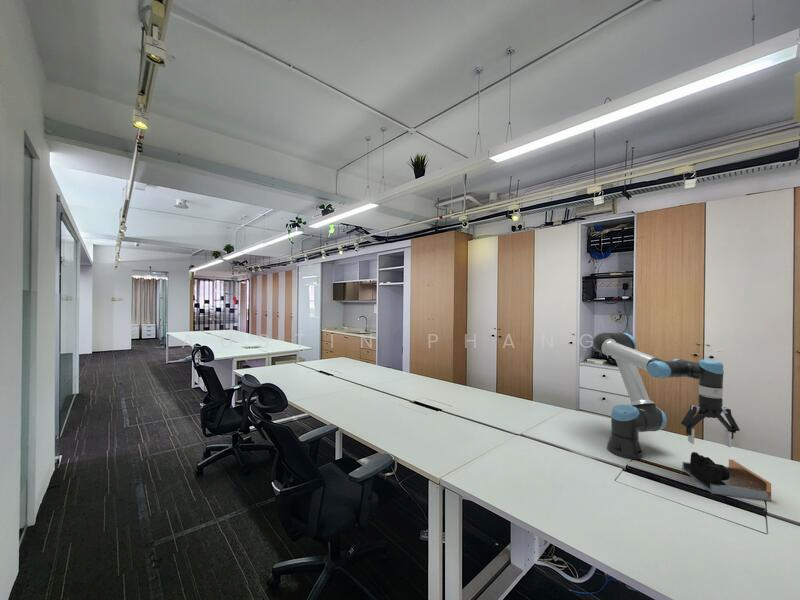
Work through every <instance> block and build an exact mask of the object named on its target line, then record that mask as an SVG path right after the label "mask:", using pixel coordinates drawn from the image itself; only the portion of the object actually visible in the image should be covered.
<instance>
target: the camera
mask: <svg viewBox="0 0 800 600" xmlns="http://www.w3.org/2000/svg"><path fill="white" fill-rule="evenodd" d="M689 463H690V473H692V474H693V475H694V476H696V477H697V478H699V479H700V480H702V481H703V482H704V483H706V484H707V485H708V486H710V483H711V484H719V485H721V480H722V481H724V480H728V479H729V477H730V475H729V471H728V470H727V468H726V467H727V466H725V465H723V464H719V463H715V461H713V460H712V459H711V458H710V457H708V456H707V457H705V456H704V455H703V454H700V453H698V452H695V451H693V452H691V454H690V462H689Z"/></svg>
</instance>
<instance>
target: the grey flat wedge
mask: <svg viewBox="0 0 800 600" xmlns="http://www.w3.org/2000/svg"><path fill="white" fill-rule="evenodd" d="M681 467H682V468H681V469H682V471H684V472H685V473H686V474H687V475H689V476H690V477H691V478H692V479H694V480H695V481H696V482H697V483H699V484H700V485H701V486H702V487H704V488H705V489H706V490H707V491H708V492H710V493H711V494H712V495H720V496H729V497H736V498H745V499H750V498H754V499H753V500H758V499H761V500H760V501H767V502H768V501H769V502H772V483H771V482H770V481H768V480H766V479H765V478H763V477H762V476H760V475H758V474H756V473H755V472H753V471H752V470H750V469H749V468H747V467H745V466H743V465H742V464H740V463H739V462H737V461H736V460H734V459H730V458H729V459H728V466H725V467H726V468H727V470H728V471H729V475H730V477H729V479H728V480H724V481H722V480H721V485H719V484H711V483H710V486H708V485H707V484H706V483H704V482H703V481H702V480H700V479H699V478H697V477H696V476H694V475H693V474H692V473H690V462H686V461H682V465H681Z"/></svg>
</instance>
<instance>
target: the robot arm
mask: <svg viewBox="0 0 800 600" xmlns="http://www.w3.org/2000/svg"><path fill="white" fill-rule="evenodd" d="M592 345H593V348H594V349H595V350H596V351H597V352H598V353H600V354H602V355H605V356H610V357H611V358H612V359H614V360H615V363H616V365H617V368H618V370H619V373H620V375H621V378H622V382H623V383H624V387H625V389H626V391H627V395H628V397H629V400H630V404H617V405H614V406H613V407H612V408H611V415H610V416H611V420H610V421H611V422H610V423H611V427H610V428H611V429H610V432H611V434H610V436H609V439H608V442H607V443H606V444H607V445H606V449H607V451H608V452H609V453H611V454H614V455H616V456H619V457H620V458H621V457H622V458H625V459H631V460H639V459H640V460H641V459H642V458H643V456H644V453H643V449H642V446H641V444H640V441H639V436H640V435H639V433H646V432H647V433H648V432H659V431H662V430H663V429H665V427H666V425H667V420H668V419H667V416H666V413H665V412H664V411H663V410H661V408H659V407H657V406H656V403H655V402H654V401H652V400H651V399H650V397H649V394H648V391H647V389H646V386H645V384H644V382H643V379H642V376H641V374H640V372H639V369H638V368H640V369H642V370H645V371H647V373H648V374H649V375H650V376H651V377H653V378H655V379H665V378H666V379H667V378H690V379H695V380H698V406H696V405H693V404H690V405H689V410H688V411H687V413H686V414H685V415H684V418H682V420H681V423H680V424H681V425H682V426H684V427H685V428H686V430H685V433H686V435H687V442H689V443H690V444H692V445H694V444H695V428H694V427H695V426H696V425H698V424H699V423H700V422H701V421H702V420H703V419H706V418H709V419H710V418H712V419H717V420H718V421H719V422H720V423H721V425H723V426H724V428H725V429H724V433H723V434H724V439H723V442H724V443H723V444H724V446H726V447H727V448H732V440H733V439H734V434H736V432H740V430H741V429H740V428H739V426H738V424H737V422H736V420H735V418H734V417H733V415H732V409H730V408H729V407H726V406H724V407H723V405H724V404H723V396H724V395H723V392H724V391H723V390H724V386H723V385H724V373H725V371H724V364H723V362H721V361H719V360H712V359H701V360H699V362H695V361H691V360H686V359H683V358H681V359H679V358H674V359H672V360H663V359H661V358H658V357H655V356H652V355H650V354H648V353H645V352H643V351H639V350H637V348H636V347H637V342H636V340H635V338H634V336H632V335H631V334H630V333H627V332H601V333H598V334H597V335H595V336H594V338H593V340H592ZM722 413H723V414H724V416H722ZM724 417H725V418H726V419H725V418H724Z"/></svg>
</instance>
